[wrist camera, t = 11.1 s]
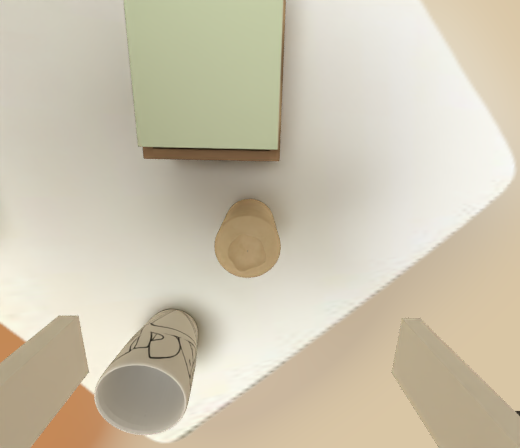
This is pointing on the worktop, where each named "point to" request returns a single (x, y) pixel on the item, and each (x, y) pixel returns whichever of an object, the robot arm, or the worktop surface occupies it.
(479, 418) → the robot arm
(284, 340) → the worktop surface
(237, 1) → the lid
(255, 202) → the candle
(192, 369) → the mug
